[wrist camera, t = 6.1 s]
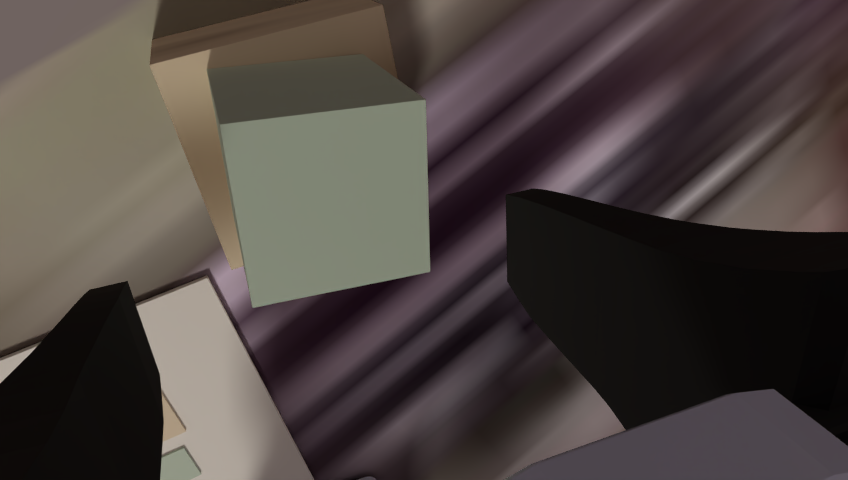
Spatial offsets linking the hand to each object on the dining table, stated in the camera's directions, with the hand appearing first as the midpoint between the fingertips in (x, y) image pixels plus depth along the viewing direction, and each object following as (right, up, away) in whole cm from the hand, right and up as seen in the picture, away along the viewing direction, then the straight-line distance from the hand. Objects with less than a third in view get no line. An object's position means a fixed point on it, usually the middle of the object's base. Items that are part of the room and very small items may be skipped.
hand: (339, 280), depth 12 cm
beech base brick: (-3, +5, +9) cm, 11 cm away
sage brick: (-2, +4, +5) cm, 7 cm away
